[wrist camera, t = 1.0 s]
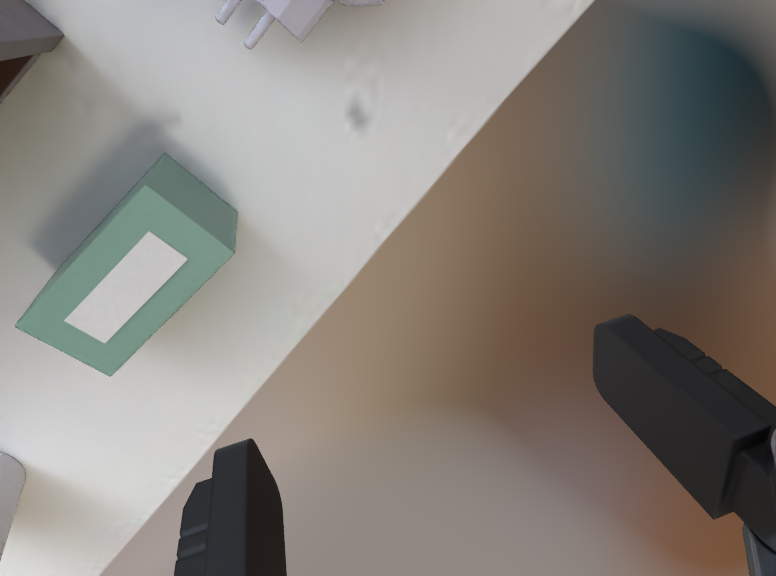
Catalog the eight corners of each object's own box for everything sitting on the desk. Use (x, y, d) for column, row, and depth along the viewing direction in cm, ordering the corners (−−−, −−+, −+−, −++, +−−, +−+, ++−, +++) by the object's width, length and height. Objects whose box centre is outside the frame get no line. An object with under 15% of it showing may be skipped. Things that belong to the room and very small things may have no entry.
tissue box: (55, 272, 32) (12, 327, 26) (165, 152, 30) (144, 184, 24) (132, 319, 34) (109, 378, 29) (238, 212, 33) (235, 253, 27)
